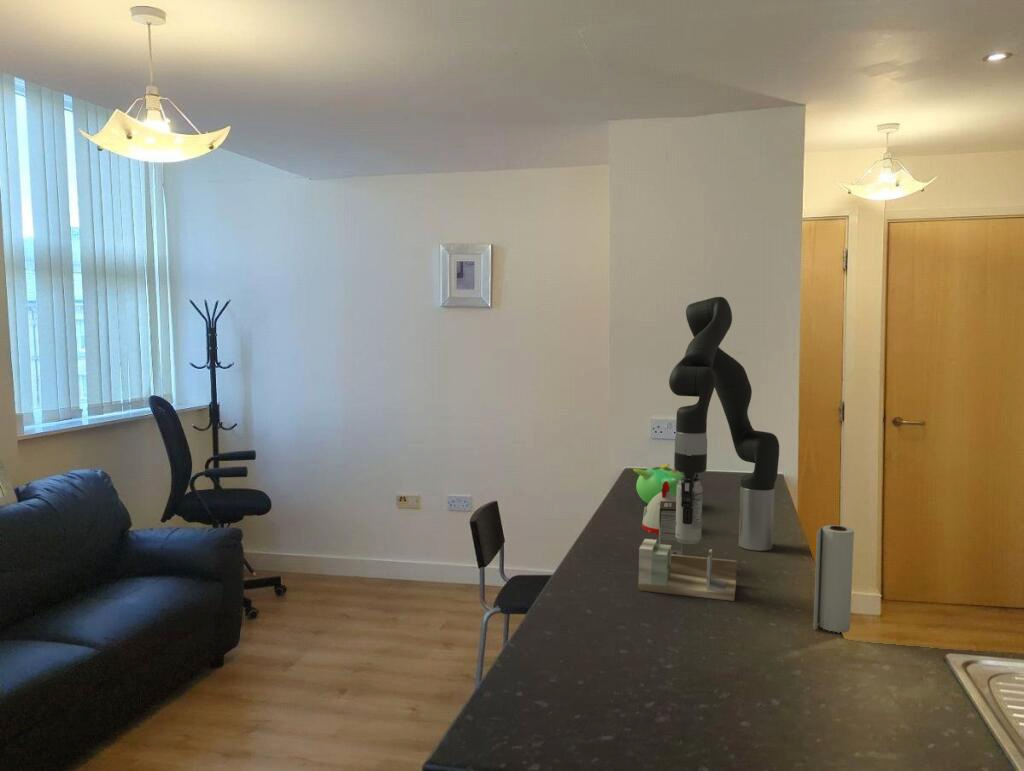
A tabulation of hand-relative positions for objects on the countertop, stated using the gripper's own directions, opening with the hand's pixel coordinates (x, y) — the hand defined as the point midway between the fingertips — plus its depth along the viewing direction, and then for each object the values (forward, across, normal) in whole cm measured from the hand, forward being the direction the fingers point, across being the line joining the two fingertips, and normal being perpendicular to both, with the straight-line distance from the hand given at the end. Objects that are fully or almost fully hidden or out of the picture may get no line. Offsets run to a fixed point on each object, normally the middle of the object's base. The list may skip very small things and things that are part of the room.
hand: (688, 520), depth 186 cm
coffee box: (+17, -18, -6) cm, 25 cm away
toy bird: (+17, -84, -17) cm, 87 cm away
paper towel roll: (+17, +15, +31) cm, 38 cm away
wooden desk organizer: (+17, -1, 0) cm, 17 cm away
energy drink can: (+5, 0, 0) cm, 5 cm away
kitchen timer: (+17, -54, -12) cm, 58 cm away
